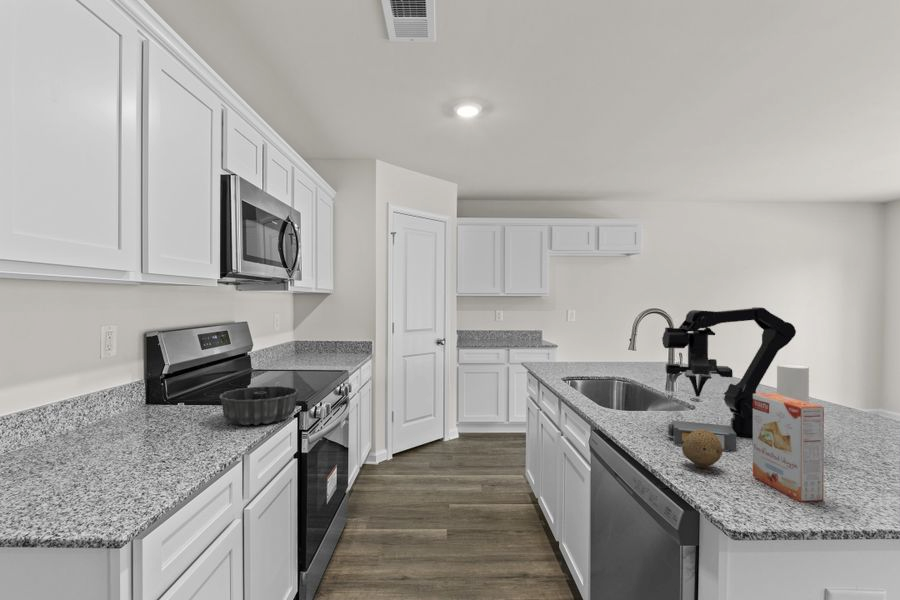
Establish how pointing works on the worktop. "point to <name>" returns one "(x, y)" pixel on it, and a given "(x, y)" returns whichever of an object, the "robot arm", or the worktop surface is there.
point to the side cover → (720, 439)
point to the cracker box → (789, 445)
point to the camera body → (683, 429)
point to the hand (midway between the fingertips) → (697, 396)
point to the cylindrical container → (793, 381)
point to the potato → (702, 448)
